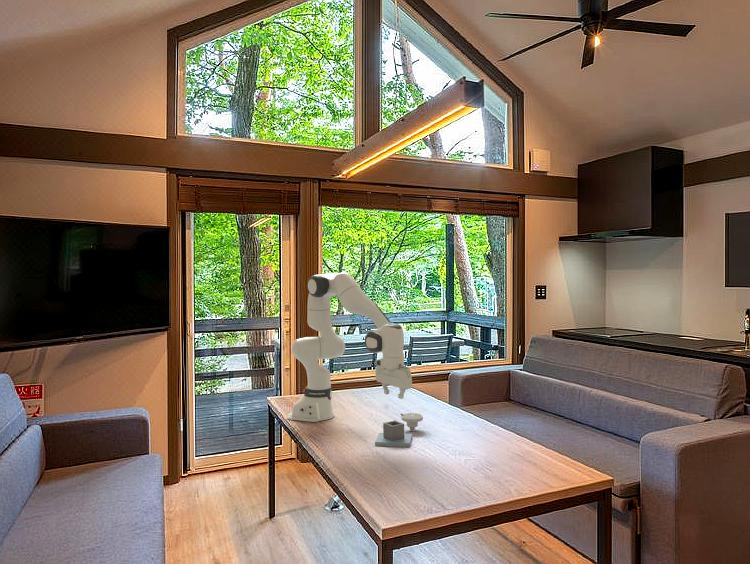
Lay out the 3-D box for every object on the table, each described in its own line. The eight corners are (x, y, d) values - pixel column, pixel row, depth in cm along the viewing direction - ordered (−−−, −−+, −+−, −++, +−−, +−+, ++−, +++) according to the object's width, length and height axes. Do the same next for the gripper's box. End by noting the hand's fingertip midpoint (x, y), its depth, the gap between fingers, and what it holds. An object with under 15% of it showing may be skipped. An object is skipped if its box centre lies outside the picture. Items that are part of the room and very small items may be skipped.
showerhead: (401, 410, 237) (423, 411, 235) (401, 426, 237) (424, 427, 235) (398, 416, 228) (421, 417, 226) (398, 432, 228) (421, 434, 226)
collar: (392, 441, 212) (392, 426, 212) (383, 437, 217) (383, 423, 217) (404, 438, 216) (404, 423, 216) (395, 434, 221) (395, 420, 221)
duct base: (375, 445, 212) (374, 430, 211) (379, 436, 224) (379, 422, 223) (409, 447, 210) (409, 432, 209) (412, 437, 221) (411, 423, 221)
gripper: (415, 365, 209) (415, 399, 210) (384, 358, 226) (384, 390, 226) (403, 367, 206) (403, 402, 206) (372, 360, 222) (373, 392, 222)
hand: (393, 396), depth 216 cm, fingers open, 8 cm apart
